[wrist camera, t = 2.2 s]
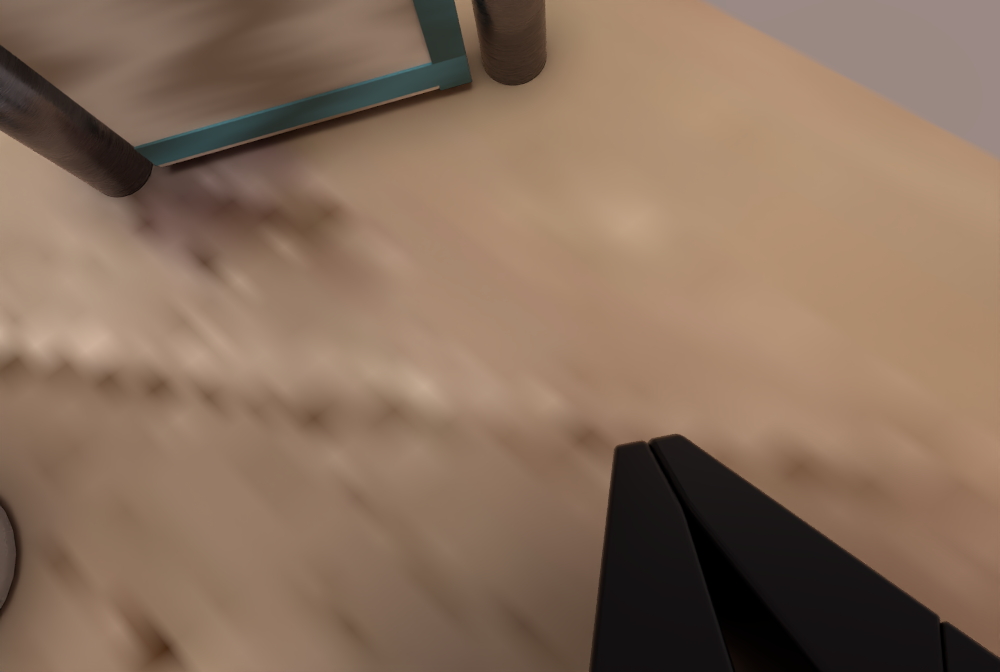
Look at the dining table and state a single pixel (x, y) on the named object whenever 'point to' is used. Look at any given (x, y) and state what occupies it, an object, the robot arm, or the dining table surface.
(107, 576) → the dining table surface
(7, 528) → the coffee cup
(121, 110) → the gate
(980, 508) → the dining table surface
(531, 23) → the gate posts
